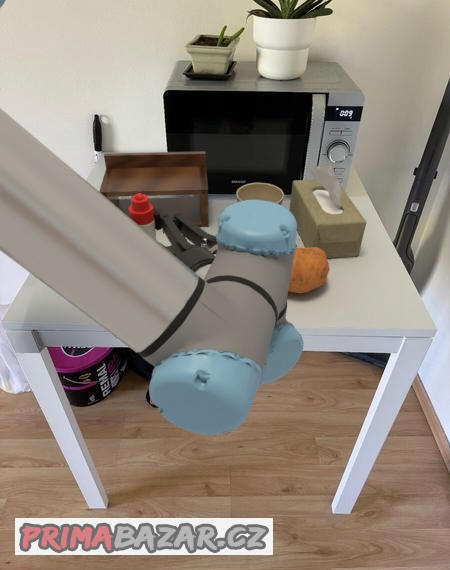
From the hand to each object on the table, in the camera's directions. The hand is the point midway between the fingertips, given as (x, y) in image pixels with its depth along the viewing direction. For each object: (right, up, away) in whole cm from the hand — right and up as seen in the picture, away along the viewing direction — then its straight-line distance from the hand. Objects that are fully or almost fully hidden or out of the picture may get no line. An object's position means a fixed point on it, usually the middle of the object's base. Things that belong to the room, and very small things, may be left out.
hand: (127, 208), depth 71 cm
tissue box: (+36, -1, +23) cm, 43 cm away
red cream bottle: (+3, -8, +1) cm, 8 cm away
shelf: (+1, +4, +29) cm, 29 cm away
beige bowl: (+23, +1, +26) cm, 35 cm away
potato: (+29, -13, +10) cm, 33 cm away
